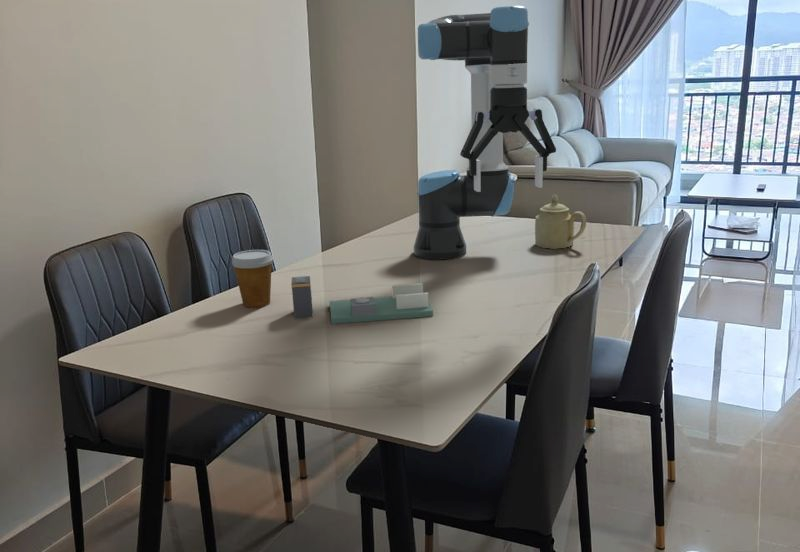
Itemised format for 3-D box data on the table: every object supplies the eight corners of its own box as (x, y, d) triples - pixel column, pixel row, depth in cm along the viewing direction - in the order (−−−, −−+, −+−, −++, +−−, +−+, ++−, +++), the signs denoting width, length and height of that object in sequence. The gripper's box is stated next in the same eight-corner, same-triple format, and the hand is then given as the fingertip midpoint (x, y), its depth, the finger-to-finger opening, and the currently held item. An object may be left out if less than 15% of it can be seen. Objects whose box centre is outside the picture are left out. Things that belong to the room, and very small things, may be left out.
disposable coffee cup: (284, 298, 171) (280, 250, 167) (264, 311, 162) (259, 260, 159) (249, 296, 174) (244, 248, 170) (228, 308, 165) (222, 258, 162)
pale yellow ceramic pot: (588, 241, 212) (590, 191, 208) (584, 251, 202) (586, 198, 198) (538, 239, 217) (539, 190, 213) (531, 248, 207) (532, 197, 203)
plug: (294, 311, 162) (291, 272, 159) (312, 309, 162) (309, 270, 160) (294, 318, 157) (290, 278, 154) (312, 317, 158) (309, 277, 155)
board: (329, 306, 164) (328, 288, 163) (424, 298, 167) (423, 281, 165) (331, 323, 153) (330, 305, 152) (433, 315, 155) (432, 297, 154)
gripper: (453, 89, 142) (455, 195, 148) (573, 84, 145) (570, 187, 151) (445, 88, 149) (447, 189, 155) (559, 83, 152) (557, 182, 158)
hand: (508, 188), depth 153 cm, fingers open, 13 cm apart
